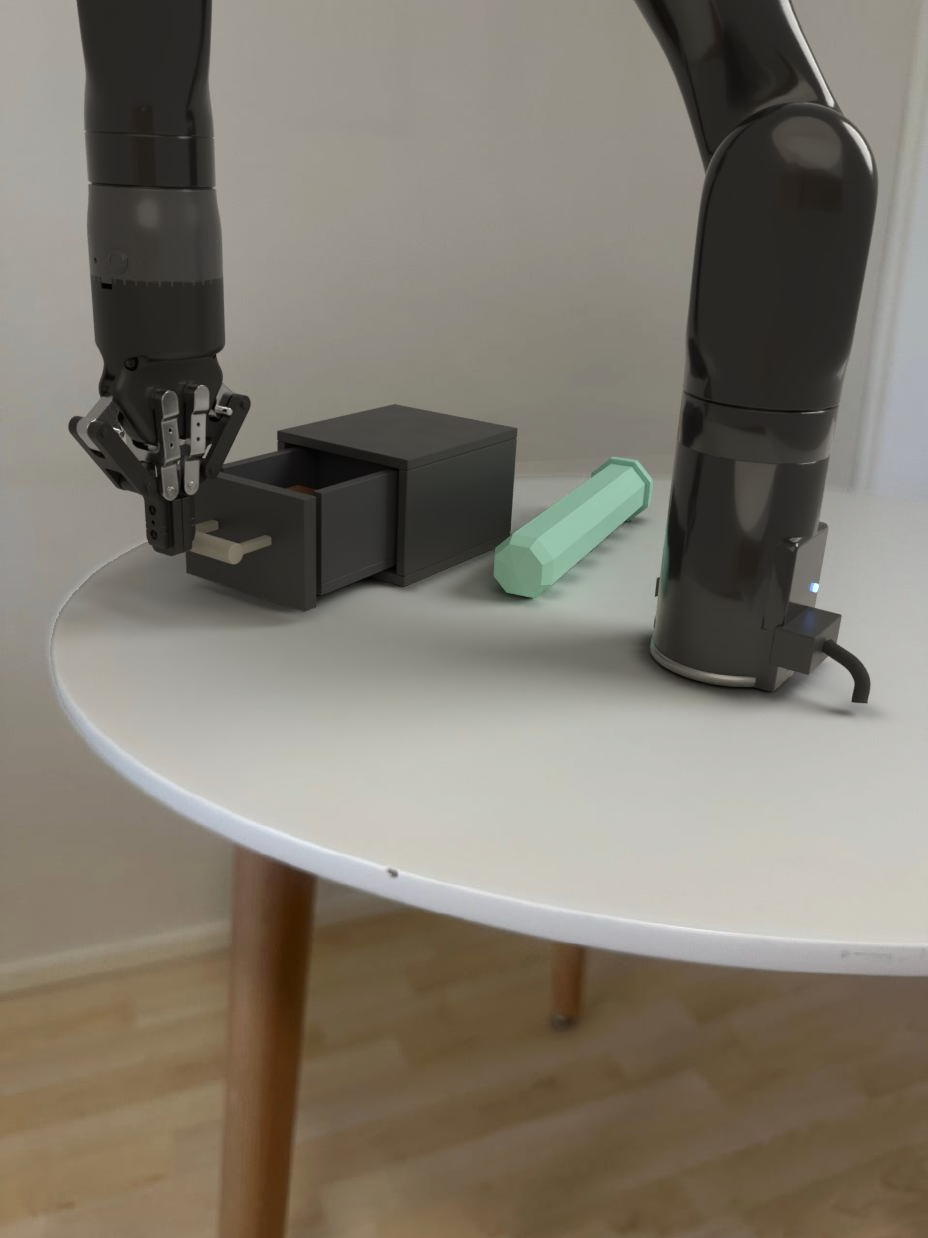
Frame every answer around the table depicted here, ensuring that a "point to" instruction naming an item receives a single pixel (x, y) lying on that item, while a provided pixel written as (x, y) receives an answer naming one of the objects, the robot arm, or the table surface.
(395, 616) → the table surface
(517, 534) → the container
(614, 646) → the table surface
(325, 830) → the table surface
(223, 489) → the drawer
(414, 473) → the small storage cabinet
